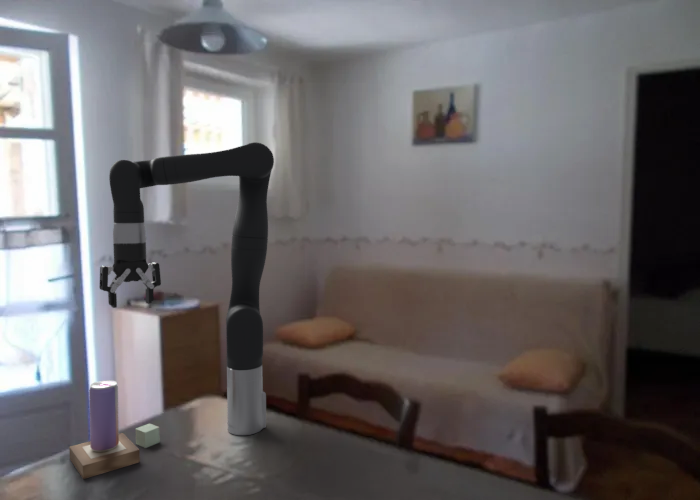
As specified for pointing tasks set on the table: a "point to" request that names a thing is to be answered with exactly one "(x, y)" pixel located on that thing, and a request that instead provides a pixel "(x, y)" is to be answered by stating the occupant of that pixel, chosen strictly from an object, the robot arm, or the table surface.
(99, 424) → the beverage can
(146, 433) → the sage cube
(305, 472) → the table surface
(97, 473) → the walnut slab
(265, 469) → the table surface
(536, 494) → the table surface
